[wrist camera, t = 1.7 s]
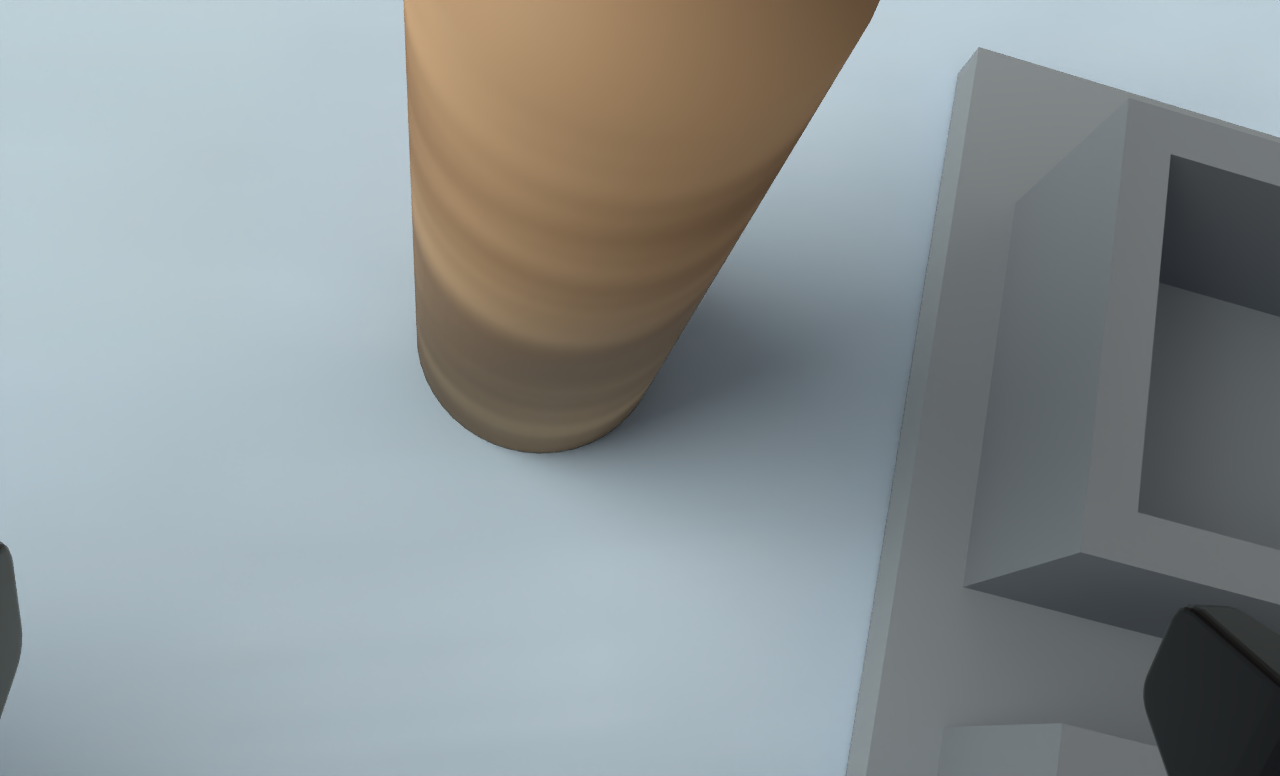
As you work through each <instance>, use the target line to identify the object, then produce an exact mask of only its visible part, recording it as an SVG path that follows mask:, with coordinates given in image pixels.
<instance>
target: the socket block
mask: <svg viewBox="0 0 1280 776" xmlns="http://www.w3.org/2000/svg"><path fill="white" fill-rule="evenodd" d="M1189 604H1199V605H1218V606H1229V607H1233V608H1236V609H1238V610H1240V611H1242V612H1243V613H1245V614H1247V615H1249V616H1250V617H1252V618H1254V619H1255V620H1257V621H1259V622H1260V623H1262V624H1264V625H1266V626H1267V627H1269V628H1271V629H1272V630H1274V631H1276V632H1277V633H1279V634H1280V138H1279V137H1275V136H1272V135H1269V134H1265V133H1262V132H1259V131H1255V130H1252V129H1249V128H1245V127H1242V126H1239V125H1235V124H1232V123H1229V122H1226V121H1222V120H1219V119H1216V118H1212V117H1209V116H1206V115H1202V114H1199V113H1196V112H1192V111H1189V110H1186V109H1182V108H1179V107H1176V106H1172V105H1169V104H1166V103H1162V102H1159V101H1156V100H1153V99H1149V98H1146V97H1143V96H1139V95H1136V94H1133V93H1129V92H1126V91H1123V90H1119V89H1116V88H1113V87H1109V86H1106V85H1103V84H1099V83H1096V82H1093V81H1089V80H1086V79H1083V78H1080V77H1076V76H1073V75H1070V74H1066V73H1063V72H1060V71H1056V70H1053V69H1050V68H1046V67H1043V66H1040V65H1036V64H1033V63H1030V62H1026V61H1023V60H1020V59H1016V58H1013V57H1010V56H1007V55H1003V54H1000V53H997V52H993V51H990V50H987V49H983V48H980V47H979V48H978V49H977V50H976V51H975V53H974V54H973V55H972V57H971V58H970V59H969V60H968V62H967V63H966V64H965V66H964V67H963V68H962V69H961V71H960V72H959V73H958V78H957V85H956V91H955V97H954V103H953V109H952V116H951V122H950V128H949V134H948V141H947V147H946V153H945V159H944V166H943V172H942V178H941V184H940V191H939V197H938V203H937V209H936V216H935V222H934V228H933V234H932V241H931V247H930V253H929V259H928V266H927V272H926V278H925V284H924V291H923V297H922V303H921V309H920V315H919V322H918V328H917V334H916V340H915V347H914V353H913V359H912V365H911V372H910V378H909V384H908V390H907V397H906V403H905V409H904V415H903V422H902V428H901V434H900V440H899V447H898V453H897V459H896V465H895V472H894V478H893V484H892V490H891V497H890V503H889V509H888V515H887V521H886V528H885V534H884V540H883V546H882V553H881V559H880V565H879V571H878V578H877V584H876V590H875V596H874V603H873V609H872V615H871V621H870V628H869V634H868V640H867V646H866V653H865V659H864V665H863V671H862V678H861V684H860V690H859V696H858V703H857V709H856V715H855V721H854V727H853V734H852V740H851V746H850V752H849V759H848V765H847V771H846V776H1167V773H1166V770H1165V767H1164V764H1163V761H1162V758H1161V755H1160V753H1159V750H1158V747H1157V744H1156V741H1155V738H1154V735H1153V732H1152V729H1151V726H1150V723H1149V721H1148V718H1147V715H1146V711H1145V707H1144V701H1143V688H1144V682H1145V678H1146V675H1147V673H1148V671H1149V668H1150V666H1151V664H1152V662H1153V659H1154V657H1155V655H1156V652H1157V650H1158V648H1159V646H1160V643H1161V641H1162V639H1163V637H1164V634H1165V632H1166V630H1167V627H1168V625H1169V623H1170V621H1171V619H1172V617H1173V615H1174V614H1175V613H1176V612H1177V611H1178V610H1179V609H1180V608H1181V607H1183V606H1186V605H1189Z"/></svg>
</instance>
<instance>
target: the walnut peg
mask: <svg viewBox="0 0 1280 776" xmlns="http://www.w3.org/2000/svg"><path fill="white" fill-rule="evenodd" d="M879 1H880V0H404V22H405V47H406V73H407V98H408V123H409V149H410V174H411V199H412V225H413V250H414V275H415V301H416V326H417V346H418V353H419V358H420V363H421V366H422V369H423V372H424V375H425V378H426V380H427V382H428V384H429V386H430V388H431V390H432V392H433V394H434V395H435V397H436V398H437V399H438V401H439V402H440V404H441V405H442V406H443V408H444V409H445V410H446V411H447V412H448V413H449V414H450V415H451V416H452V417H453V418H454V419H455V420H456V421H457V422H458V423H460V424H461V425H462V426H463V427H464V428H466V429H467V430H469V431H470V432H472V433H473V434H475V435H477V436H478V437H480V438H482V439H484V440H486V441H488V442H490V443H493V444H495V445H498V446H501V447H504V448H507V449H512V450H517V451H522V452H532V453H551V452H560V451H565V450H570V449H574V448H577V447H580V446H583V445H586V444H589V443H591V442H593V441H595V440H597V439H599V438H601V437H603V436H604V435H606V434H607V433H609V432H610V431H612V430H613V429H615V428H616V427H617V426H618V425H619V424H621V423H622V422H623V421H624V420H625V419H626V418H627V417H628V416H629V415H630V414H631V412H632V411H633V410H634V409H635V408H636V407H637V405H638V403H639V402H640V400H641V399H642V397H643V396H644V394H645V392H646V391H647V389H648V388H649V386H650V384H651V383H652V381H653V379H654V378H655V376H656V374H657V373H658V371H659V369H660V368H661V366H662V364H663V363H664V361H665V359H666V358H667V356H668V354H669V353H670V351H671V350H672V348H673V346H674V345H675V343H676V341H677V340H678V338H679V336H680V335H681V333H682V331H683V330H684V328H685V326H686V325H687V323H688V321H689V320H690V318H691V317H692V315H693V313H694V312H695V310H696V308H697V307H698V305H699V303H700V302H701V300H702V298H703V297H704V295H705V293H706V292H707V290H708V288H709V287H710V285H711V283H712V282H713V280H714V279H715V277H716V275H717V274H718V272H719V270H720V269H721V267H722V265H723V264H724V262H725V260H726V259H727V257H728V255H729V254H730V252H731V250H732V249H733V247H734V245H735V244H736V242H737V241H738V239H739V237H740V236H741V234H742V232H743V231H744V229H745V227H746V226H747V224H748V222H749V221H750V219H751V217H752V216H753V214H754V212H755V211H756V209H757V208H758V206H759V204H760V203H761V201H762V199H763V198H764V196H765V194H766V193H767V191H768V189H769V188H770V186H771V184H772V183H773V181H774V179H775V178H776V176H777V174H778V173H779V171H780V170H781V168H782V166H783V165H784V163H785V161H786V160H787V158H788V156H789V155H790V153H791V151H792V150H793V148H794V146H795V145H796V143H797V141H798V140H799V138H800V136H801V135H802V133H803V132H804V130H805V128H806V127H807V125H808V123H809V122H810V120H811V118H812V117H813V115H814V113H815V112H816V110H817V108H818V107H819V105H820V103H821V102H822V100H823V98H824V97H825V95H826V94H827V92H828V90H829V89H830V87H831V85H832V84H833V82H834V80H835V79H836V77H837V75H838V74H839V72H840V70H841V69H842V67H843V65H844V64H845V62H846V61H847V59H848V57H849V56H850V54H851V52H852V51H853V49H854V47H855V46H856V44H857V42H858V41H859V39H860V37H861V36H862V34H863V32H864V31H865V29H866V27H867V26H868V24H869V23H870V21H871V19H872V17H873V14H874V12H875V10H876V8H877V5H878V3H879Z"/></svg>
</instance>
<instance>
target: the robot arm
mask: <svg viewBox="0 0 1280 776" xmlns="http://www.w3.org/2000/svg"><path fill="white" fill-rule="evenodd" d="M21 647H22V626H21V619H20V611H19V604H18V597H17V589H16V582H15V574H14V567H13V560H12V556H11V554H10V551H9V549H8V547H7V546H6V545H4V544H3V543H2V542H0V718H1V715H2V712H3V709H4V706H5V703H6V700H7V697H8V694H9V691H10V688H11V685H12V682H13V679H14V676H15V673H16V670H17V667H18V663H19V659H20V654H21ZM1143 701H1144V707H1145V711H1146V715H1147V718H1148V721H1149V723H1150V726H1151V729H1152V732H1153V735H1154V738H1155V741H1156V744H1157V747H1158V750H1159V753H1160V755H1161V758H1162V761H1163V764H1164V767H1165V770H1166V773H1167V776H1280V634H1279V633H1277V632H1276V631H1274V630H1272V629H1271V628H1269V627H1267V626H1266V625H1264V624H1262V623H1260V622H1259V621H1257V620H1255V619H1254V618H1252V617H1250V616H1249V615H1247V614H1245V613H1243V612H1242V611H1240V610H1238V609H1236V608H1233V607H1229V606H1218V605H1199V604H1189V605H1186V606H1183V607H1181V608H1180V609H1179V610H1178V611H1177V612H1176V613H1175V614H1174V615H1173V617H1172V619H1171V621H1170V623H1169V625H1168V627H1167V630H1166V632H1165V634H1164V637H1163V639H1162V641H1161V643H1160V646H1159V648H1158V650H1157V652H1156V655H1155V657H1154V659H1153V662H1152V664H1151V666H1150V668H1149V671H1148V673H1147V675H1146V678H1145V682H1144V688H1143Z"/></svg>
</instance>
